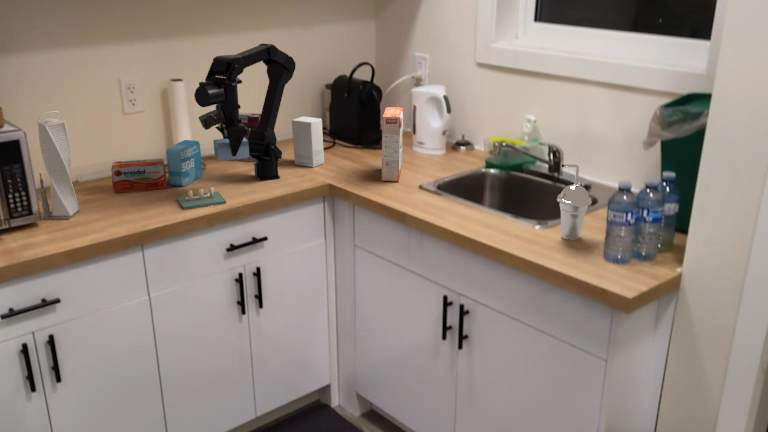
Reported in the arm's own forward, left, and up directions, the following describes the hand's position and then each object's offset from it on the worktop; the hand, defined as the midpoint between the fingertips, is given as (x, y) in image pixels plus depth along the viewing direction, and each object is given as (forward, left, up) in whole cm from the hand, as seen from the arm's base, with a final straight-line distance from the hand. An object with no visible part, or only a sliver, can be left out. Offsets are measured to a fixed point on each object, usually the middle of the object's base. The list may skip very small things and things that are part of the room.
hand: (231, 153), depth 209 cm
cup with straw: (-68, +71, -12) cm, 99 cm away
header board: (+11, +5, -12) cm, 17 cm away
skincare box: (-30, -17, -12) cm, 36 cm away
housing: (0, 0, -1) cm, 1 cm away
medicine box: (+25, -15, -12) cm, 32 cm away
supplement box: (-14, -30, -12) cm, 35 cm away
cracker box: (-50, +6, -12) cm, 52 cm away
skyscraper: (+47, -1, -12) cm, 49 cm away
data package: (+11, -16, -12) cm, 22 cm away
